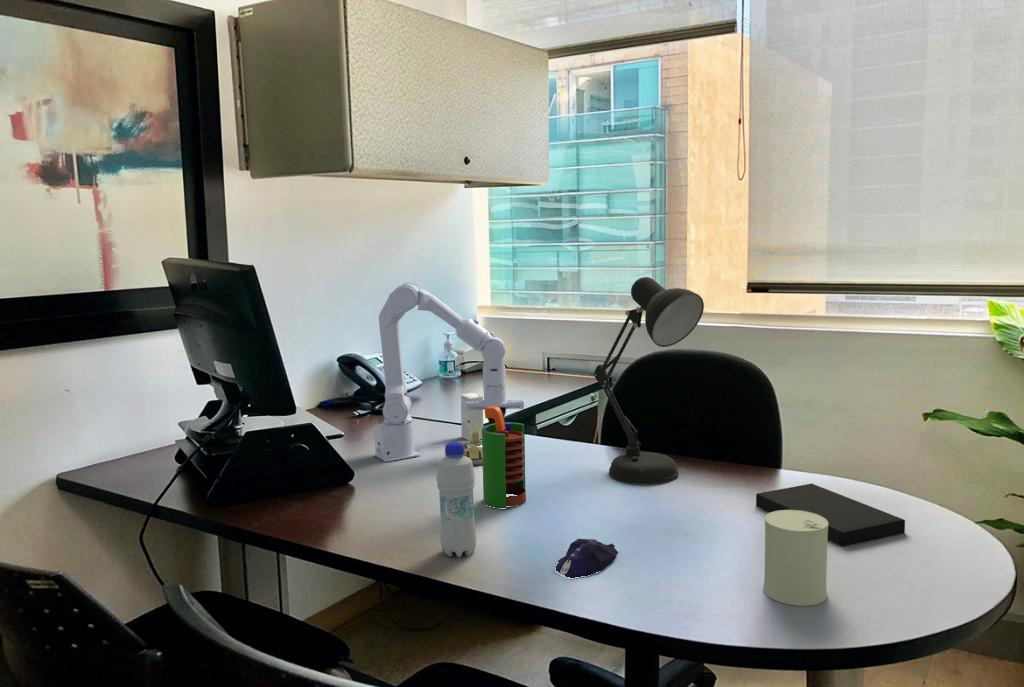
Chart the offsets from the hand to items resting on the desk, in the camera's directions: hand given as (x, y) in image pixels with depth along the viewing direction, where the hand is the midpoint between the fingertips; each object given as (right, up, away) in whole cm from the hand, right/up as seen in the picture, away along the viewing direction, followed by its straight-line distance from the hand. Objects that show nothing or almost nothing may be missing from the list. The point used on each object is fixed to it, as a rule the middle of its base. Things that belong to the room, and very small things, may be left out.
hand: (496, 436), depth 205 cm
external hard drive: (+64, -10, -53) cm, 83 cm away
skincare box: (-7, -2, +15) cm, 17 cm away
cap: (-5, -5, -5) cm, 8 cm away
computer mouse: (+16, -14, -69) cm, 72 cm away
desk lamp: (+34, -6, -22) cm, 41 cm away
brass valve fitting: (-6, -3, -4) cm, 8 cm away
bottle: (-5, -13, -63) cm, 65 cm away
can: (+47, -14, -82) cm, 96 cm away
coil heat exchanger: (+3, -9, -37) cm, 38 cm away
